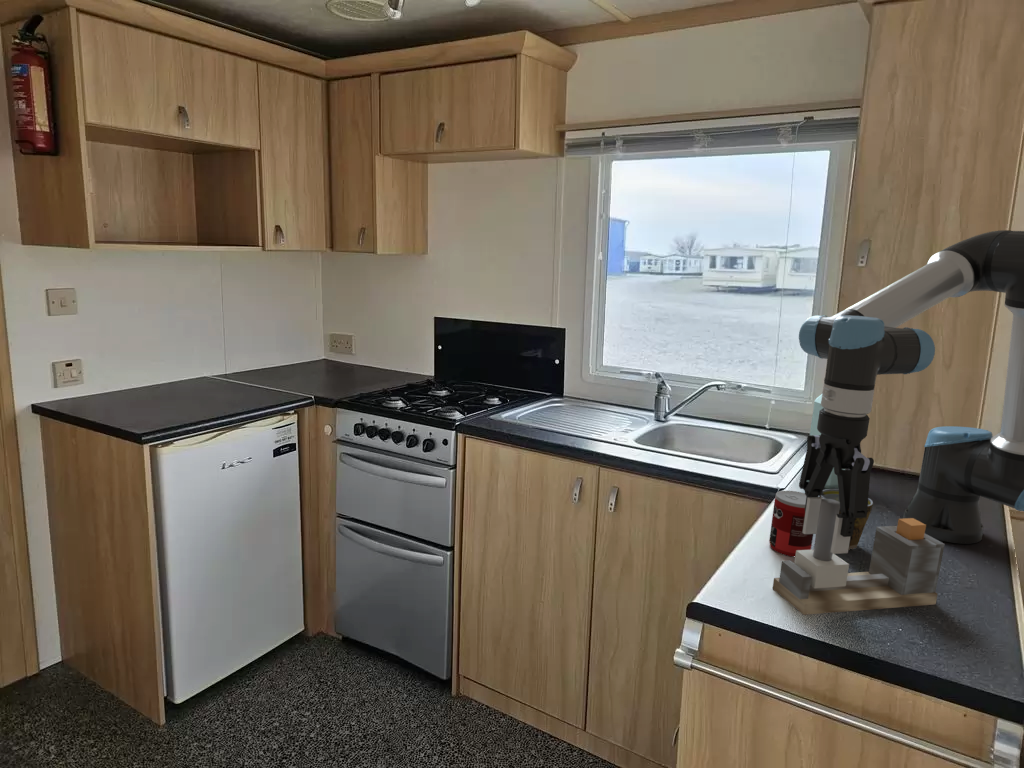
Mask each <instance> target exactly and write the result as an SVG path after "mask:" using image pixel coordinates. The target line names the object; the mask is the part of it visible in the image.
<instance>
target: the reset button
mask: <svg viewBox="0 0 1024 768" xmlns="http://www.w3.org/2000/svg"><path fill="white" fill-rule="evenodd" d="M897 520H898V521H897V525H896V526H897V531H896V533H897V534H899V535H901V536H902V537H904V538H906V539H908V540H919V539H924V534H925V528H926V525H925V524H923V523H921V522H920V521H918V520H916V519H914V518H905V519H903V518H898V519H897Z"/></svg>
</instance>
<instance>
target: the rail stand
mask: <svg viewBox="0 0 1024 768" xmlns="http://www.w3.org/2000/svg"><path fill="white" fill-rule="evenodd" d="M875 527H876V529H875V535H874V540H873V546H872V551H871V558H870V564H869V570H868V571H861V572H859V571H858V572H848V575H847V581H846V586H842V587H828V588H813V587H812V586H811V585H810V583H811V576H810V575H809V574H807V573H806V572H805V571H803V570H802V569H801V568H799V567H798V566H797V565H796V564H794V562H793V561H792V560H790V559H789V560H782V561H781V565H780V571H779V577H774V578H773V582H772V589H773V590H774V591H775V592H776V593H777V594H778V595H779V596H780V597H782V598H783V599H784V600H785V601H786V602H788V603H789V604H790V605H791V606H793V607H794V608H795V609H796V610H797V611H798V612H799V613H800V614H801V615H803V616H809V615H819V614H830V613H831V614H833V613H845V612H847V613H848V612H858V611H869V610H871V611H872V610H881V609H883V610H884V609H892V608H893V609H895V608H907V607H920V606H921V607H922V606H929V605H931V606H932V605H936V604H937V600H938V599H937V598H938V593H937V592H936V591H937V587H938V586H937V585H938V582H939V581H938V580H939V575H940V572H941V571H940V570H941V566H942V561H943V555H944V550H945V546H946V545H945V543H943V541H941V540H937V539H934V538H933V537H931V536H929V535H927V534H924V539H919V540H908V539H906V538H904V537H902V536H901V535H899V534H897V533H896V531H897V525H885V526H875Z"/></svg>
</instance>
